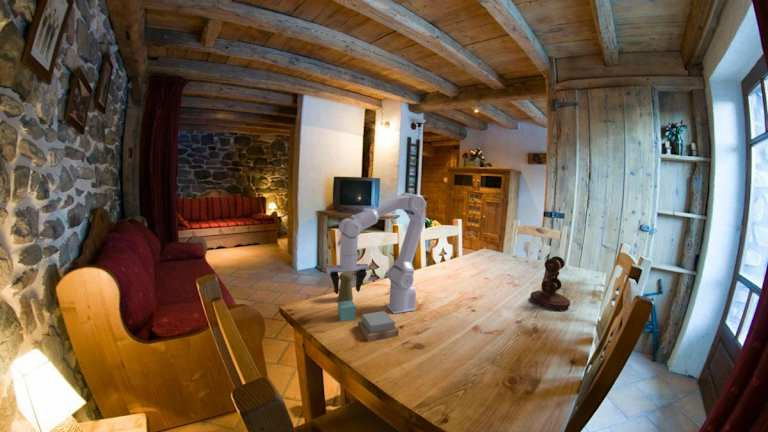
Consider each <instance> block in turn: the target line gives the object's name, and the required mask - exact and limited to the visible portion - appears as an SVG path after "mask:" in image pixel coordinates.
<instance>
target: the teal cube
mask: <svg viewBox="0 0 768 432" xmlns="http://www.w3.org/2000/svg"><path fill="white" fill-rule="evenodd" d="M356 309H357V306H356V305H355V303H354V301H353V300H351V301H343V302H340V301H338V302H337V316H338V318H339V320H340V322H348V321H349V322H350V321H355V320H356V312H357V310H356Z"/></svg>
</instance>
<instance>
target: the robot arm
mask: <svg viewBox="0 0 768 432" xmlns="http://www.w3.org/2000/svg"><path fill="white" fill-rule="evenodd" d="M426 207H427V202H426V200H425V198H424V197H423V196H422V195H421V194H418V193H417V194H414V193H410V192H409V193H408V192H402V193H401V194H398V195H396V196H395V197H393V198H392V199H390V200H388V201H386V202H385V203H383V204H381V205H380V206H378V207H376V208H374V209H373V208H367V207H365V208H363V209H362V211H361V212H359V213H357V214H352V215H350V218H348V217H347V218H344V219H342V220H341V221H340V223H339V225H338V230H339V233H340V248H339V249H340V250H339V251H340V253H339V254H340V255H339V264H337V265H332V266H326V273H327V275H329V276H330V279H331V281H332V284H333V289H334V293H335V295H339V285H340V284H339V282H340V275H339V273H340V274H341V273H343V272H350V273H351V272H352V273H353V272H355V291H356V292H357V293H358V292H359V293H360V290H361V286H362V284H363V282H364V280H365V278H366V276H367V275H368V273H367V272H369V270H370V269H369V268H370V265H369V264H368V263H358V260H357V259H358V242H359V241H358V237H359V235H361V232H362V231H365V229H367V228H370V227H371V226H374V225H376V224H377V223H378V221H379V219H380V218H381V217H385V216H386V215H388V214H390V213H392V212H394V211H397V210H403V212H405V213H406V214H407V217H408V218H409V222H408V225H407V229H406V232H405V235H404V239H403V242H402V245H401V247H400V252H399V254H398V258H397V259H396V260H394V261H393V262H392V265H391V267H390V268H389V270H388V272H387V277H388V280H389V281H390V285H389V286H390V288H389V301H388V302H389V303H385V304H384V305H385V306H386V308H387V309H389V311H390V312H392V313H393V314H400V313H401V314H402V313H407V312H413V311H416V309H417V308H416V296H417V292H416V288H415V287H414V284H413V283H414V281H415V280H414V274H415V269H414V266H413V261H414V257H415V255H416V251H417V248H418V245H419V242H420V238H421V235H422V232H423V229H424V225H425V222H426V217H427V216H426Z"/></svg>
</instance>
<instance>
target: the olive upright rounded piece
mask: <svg viewBox="0 0 768 432" xmlns="http://www.w3.org/2000/svg"><path fill="white" fill-rule="evenodd" d="M353 278H354V277H353V273H351V272H340V274H339V282H340V284H339V288H338V294H337V295H338V296H337V301H338V302H343V301H351V300H352V301H354V298H353V297H354V295H353V286H352V281H353Z"/></svg>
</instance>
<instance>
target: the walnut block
mask: <svg viewBox="0 0 768 432" xmlns="http://www.w3.org/2000/svg"><path fill="white" fill-rule="evenodd" d="M357 327H358V328H359V329H360V331H361V333H362V334H363V335H364V337H365V339H366V340H367V342H373V341H374V342H375V341H379V340H384V339H390V338H396V337H399V331H400V330H399V329H398V328H397V327H396V326H394V330H388V331H383V332H377V333H370V332H369V330H368V329H367V328H366V326H365V325H364V323H363V322H362V319H361V320H358V323H357Z"/></svg>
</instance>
